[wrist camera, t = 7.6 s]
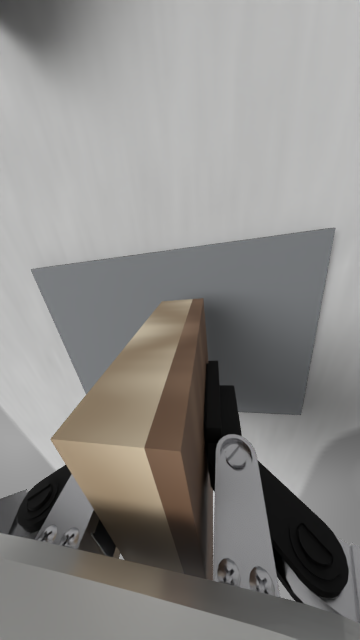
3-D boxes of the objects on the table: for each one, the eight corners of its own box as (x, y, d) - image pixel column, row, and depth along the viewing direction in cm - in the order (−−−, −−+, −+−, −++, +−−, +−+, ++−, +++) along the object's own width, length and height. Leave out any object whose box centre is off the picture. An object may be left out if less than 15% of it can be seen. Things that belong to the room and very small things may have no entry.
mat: (328, 228, 10) (335, 227, 10) (297, 408, 16) (300, 415, 15) (37, 268, 14) (30, 269, 14) (93, 399, 20) (90, 404, 19)
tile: (203, 298, 10) (180, 451, 3) (212, 413, 13) (212, 615, 6) (161, 301, 10) (49, 439, 3) (181, 412, 14) (147, 597, 7)
